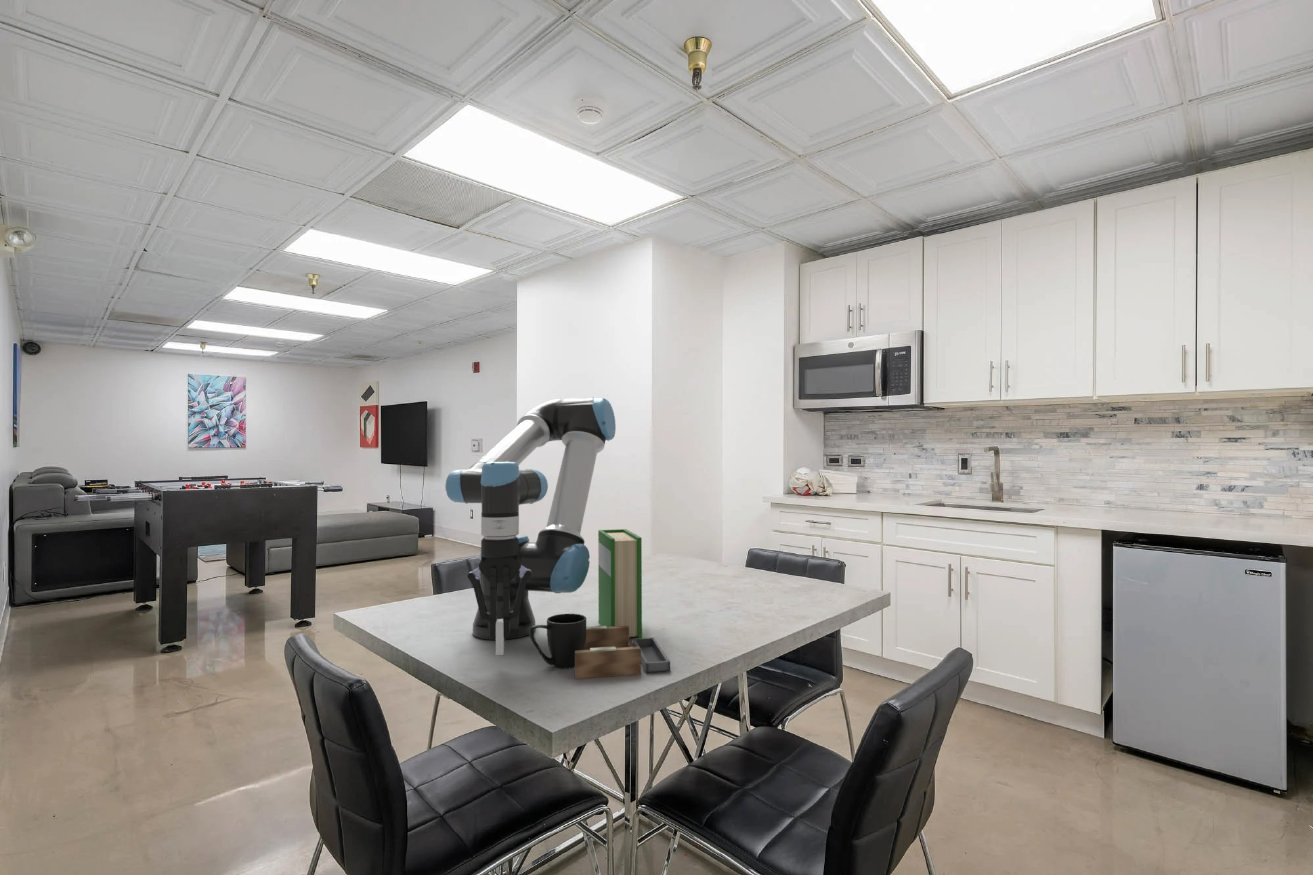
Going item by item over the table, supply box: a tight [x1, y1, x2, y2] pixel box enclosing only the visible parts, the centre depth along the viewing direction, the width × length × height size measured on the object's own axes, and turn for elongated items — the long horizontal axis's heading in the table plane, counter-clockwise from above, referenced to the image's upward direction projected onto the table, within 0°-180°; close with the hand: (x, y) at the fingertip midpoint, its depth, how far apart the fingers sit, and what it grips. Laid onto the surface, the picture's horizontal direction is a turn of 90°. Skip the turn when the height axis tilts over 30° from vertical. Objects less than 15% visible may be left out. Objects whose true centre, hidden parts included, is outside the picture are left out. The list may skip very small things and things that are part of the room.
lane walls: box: [574, 625, 642, 680], centre depth 132 cm, size 13×17×5 cm
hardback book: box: [597, 528, 643, 639], centre depth 156 cm, size 18×7×24 cm, turn 15°
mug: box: [529, 613, 587, 669], centre depth 130 cm, size 8×12×10 cm
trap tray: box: [631, 637, 671, 674], centre depth 133 cm, size 5×17×2 cm, turn 11°
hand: (499, 652), depth 127 cm, fingers closed
